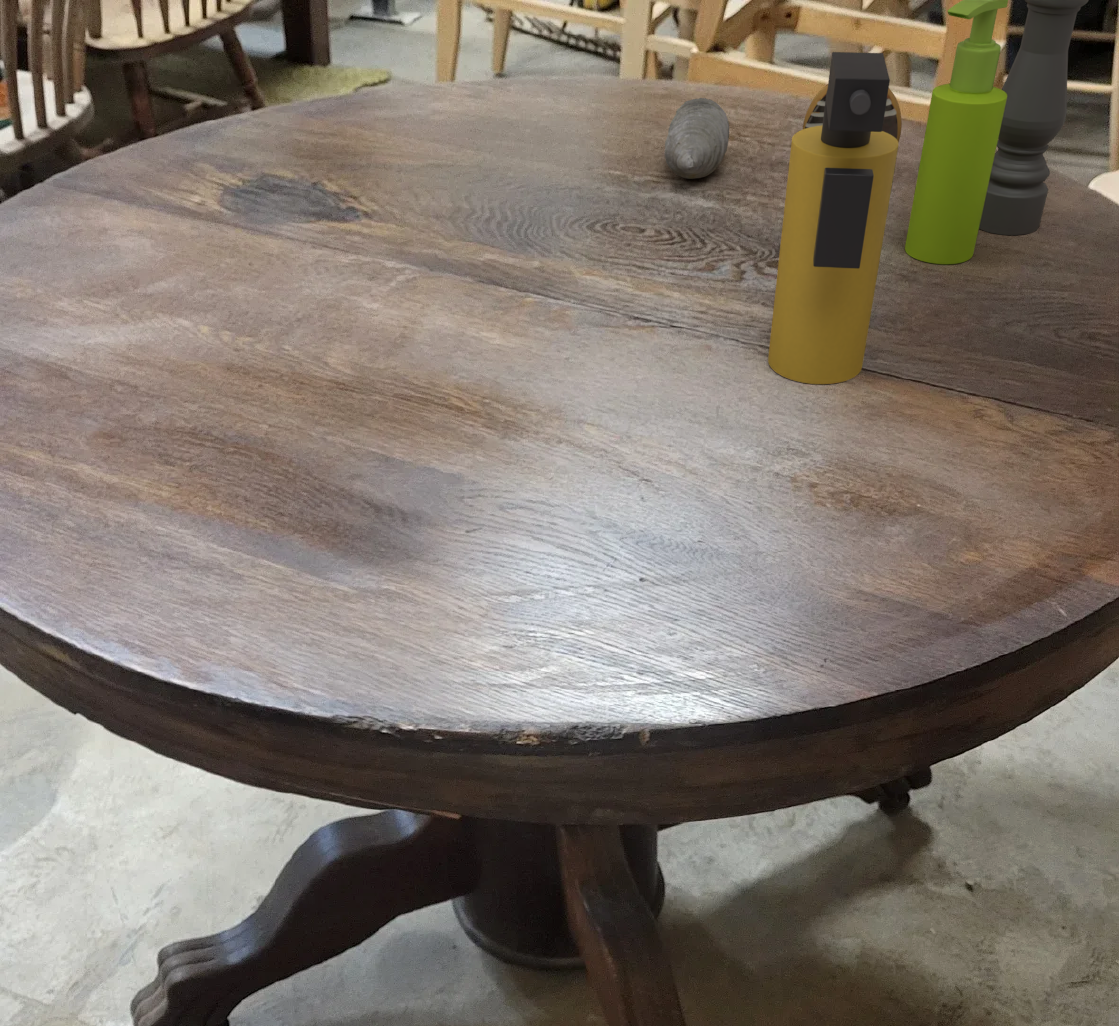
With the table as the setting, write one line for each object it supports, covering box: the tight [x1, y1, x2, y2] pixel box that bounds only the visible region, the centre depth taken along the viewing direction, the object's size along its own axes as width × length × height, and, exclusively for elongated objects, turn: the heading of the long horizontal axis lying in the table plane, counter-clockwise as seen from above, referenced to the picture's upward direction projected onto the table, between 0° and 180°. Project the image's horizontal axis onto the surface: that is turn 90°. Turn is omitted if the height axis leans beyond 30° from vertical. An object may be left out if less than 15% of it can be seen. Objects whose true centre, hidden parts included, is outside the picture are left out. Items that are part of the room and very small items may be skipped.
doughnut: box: [802, 83, 903, 144], centre depth 119 cm, size 9×4×10 cm, turn 77°
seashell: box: [664, 97, 730, 180], centre depth 122 cm, size 6×14×8 cm, turn 172°
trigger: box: [813, 168, 874, 268], centre depth 79 cm, size 3×1×6 cm, turn 82°
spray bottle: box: [767, 51, 899, 385], centre depth 83 cm, size 7×11×22 cm, turn 172°
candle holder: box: [979, 0, 1089, 236], centre depth 105 cm, size 6×6×25 cm
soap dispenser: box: [904, 0, 1009, 265], centre depth 101 cm, size 6×7×20 cm
